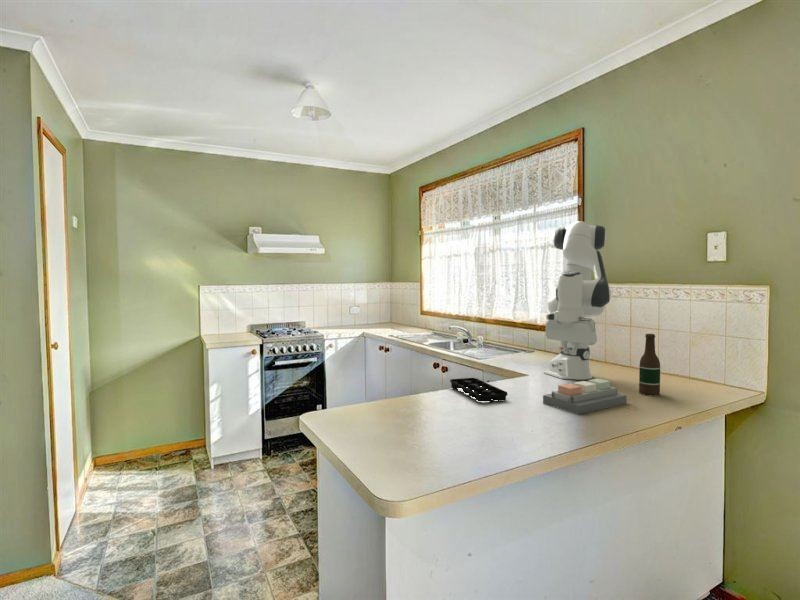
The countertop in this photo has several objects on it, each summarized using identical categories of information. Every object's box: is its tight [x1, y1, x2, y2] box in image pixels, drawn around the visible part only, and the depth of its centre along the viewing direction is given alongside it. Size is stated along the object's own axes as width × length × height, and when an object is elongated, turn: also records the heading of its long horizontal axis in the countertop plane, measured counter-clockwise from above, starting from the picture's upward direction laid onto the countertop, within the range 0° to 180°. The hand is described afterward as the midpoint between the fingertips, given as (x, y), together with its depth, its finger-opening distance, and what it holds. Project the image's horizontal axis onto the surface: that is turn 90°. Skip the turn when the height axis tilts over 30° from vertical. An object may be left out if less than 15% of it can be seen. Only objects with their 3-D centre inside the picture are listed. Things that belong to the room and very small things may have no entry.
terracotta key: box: [557, 383, 581, 396], centre depth 164 cm, size 6×6×3 cm
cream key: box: [573, 380, 596, 393], centre depth 168 cm, size 6×6×3 cm
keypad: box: [542, 386, 628, 415], centre depth 168 cm, size 16×26×5 cm, turn 118°
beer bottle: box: [638, 333, 661, 397], centre depth 179 cm, size 8×8×24 cm
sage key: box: [587, 378, 611, 390], centre depth 171 cm, size 6×6×3 cm
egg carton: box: [449, 377, 508, 402], centre depth 184 cm, size 18×30×4 cm, turn 30°
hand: (569, 354), depth 163 cm, fingers closed
